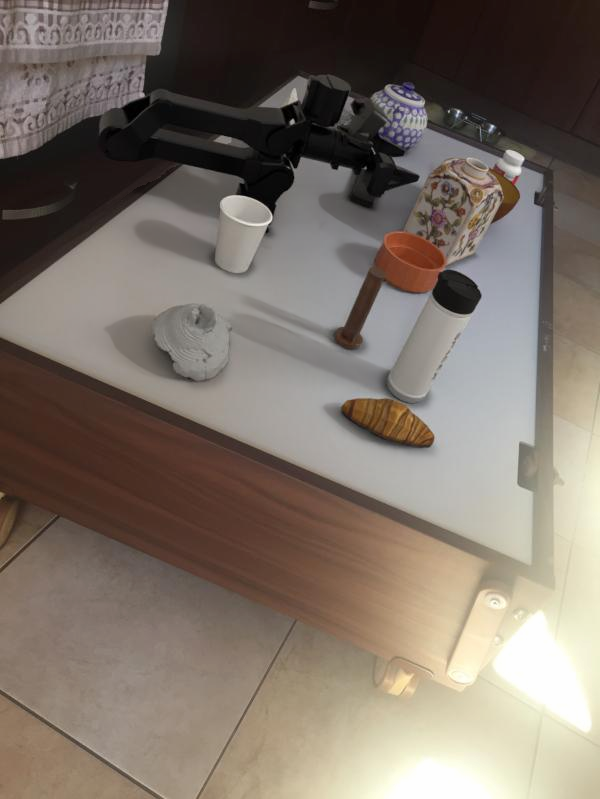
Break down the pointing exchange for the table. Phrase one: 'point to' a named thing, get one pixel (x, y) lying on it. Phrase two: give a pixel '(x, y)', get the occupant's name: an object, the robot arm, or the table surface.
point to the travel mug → (433, 336)
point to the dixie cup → (240, 232)
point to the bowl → (504, 195)
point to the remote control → (361, 192)
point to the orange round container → (410, 261)
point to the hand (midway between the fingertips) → (411, 165)
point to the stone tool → (291, 100)
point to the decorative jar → (456, 207)
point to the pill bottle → (510, 165)
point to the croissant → (389, 421)
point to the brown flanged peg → (360, 310)
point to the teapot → (402, 114)
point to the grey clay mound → (193, 339)
